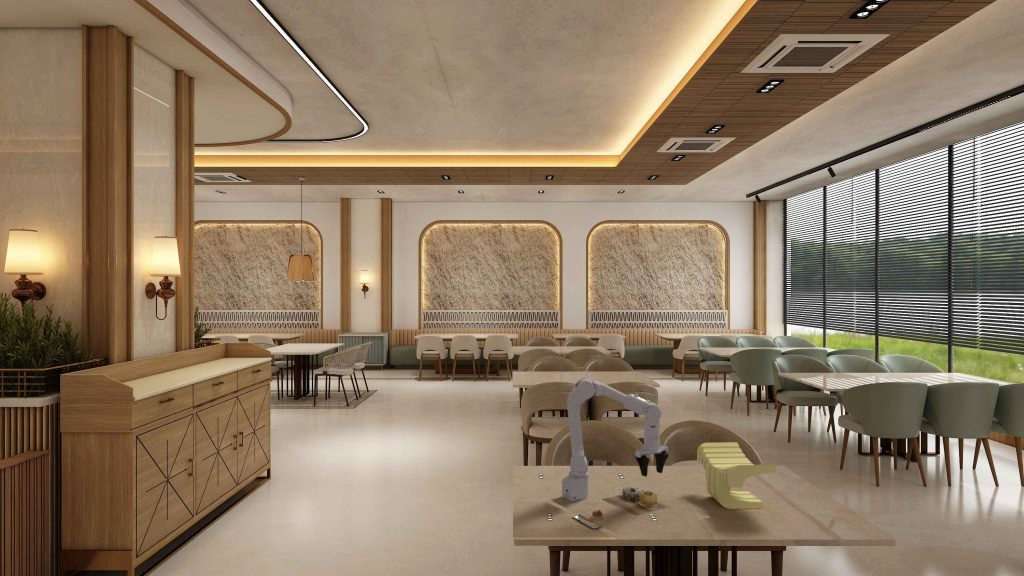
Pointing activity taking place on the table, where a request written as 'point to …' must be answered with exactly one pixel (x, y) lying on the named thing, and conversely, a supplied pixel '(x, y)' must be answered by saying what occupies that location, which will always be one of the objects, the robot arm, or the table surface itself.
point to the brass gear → (648, 499)
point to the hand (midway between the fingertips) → (651, 474)
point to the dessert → (595, 515)
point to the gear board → (632, 501)
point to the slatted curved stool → (729, 474)
